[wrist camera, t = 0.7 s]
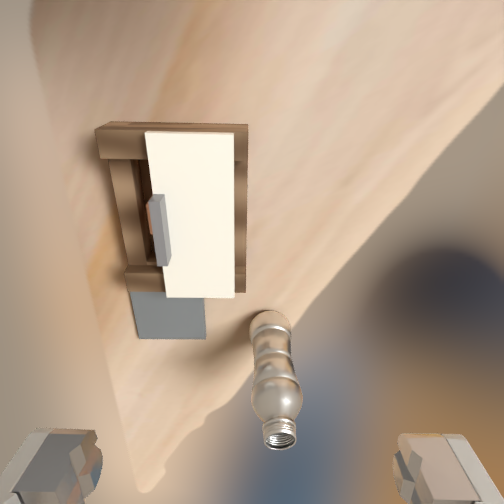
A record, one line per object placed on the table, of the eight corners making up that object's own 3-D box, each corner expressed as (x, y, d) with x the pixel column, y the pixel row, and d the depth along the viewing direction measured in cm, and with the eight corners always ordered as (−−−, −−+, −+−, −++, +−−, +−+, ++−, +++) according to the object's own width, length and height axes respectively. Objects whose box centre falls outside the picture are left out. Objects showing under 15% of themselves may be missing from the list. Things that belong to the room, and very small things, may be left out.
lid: (147, 131, 35) (137, 137, 32) (233, 132, 35) (232, 139, 32) (168, 292, 45) (162, 309, 42) (234, 293, 46) (233, 309, 43)
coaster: (130, 282, 51) (128, 285, 50) (202, 282, 51) (202, 285, 50) (140, 335, 56) (139, 338, 56) (206, 335, 57) (205, 339, 56)
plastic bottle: (242, 313, 54) (240, 433, 37) (281, 299, 53) (299, 417, 36) (257, 339, 57) (262, 462, 40) (295, 327, 56) (317, 448, 39)
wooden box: (111, 121, 39) (94, 129, 35) (247, 124, 39) (248, 132, 35) (138, 271, 50) (127, 291, 45) (245, 272, 50) (245, 292, 46)
